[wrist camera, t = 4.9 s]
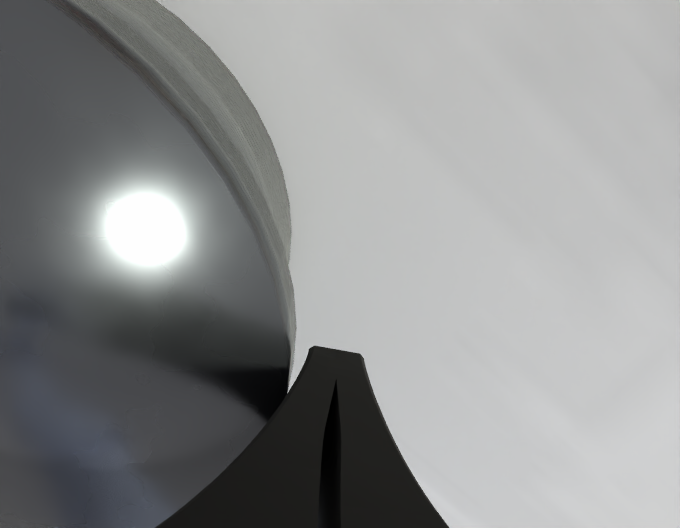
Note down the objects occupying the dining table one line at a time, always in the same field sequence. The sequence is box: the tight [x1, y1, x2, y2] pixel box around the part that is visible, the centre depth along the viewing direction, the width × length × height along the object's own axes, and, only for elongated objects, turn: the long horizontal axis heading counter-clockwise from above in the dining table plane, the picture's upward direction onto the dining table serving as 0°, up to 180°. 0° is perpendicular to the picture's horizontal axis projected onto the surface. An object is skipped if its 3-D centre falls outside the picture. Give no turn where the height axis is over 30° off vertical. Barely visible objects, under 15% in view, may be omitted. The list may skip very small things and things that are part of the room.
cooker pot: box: [96, 0, 291, 264], centre depth 15 cm, size 22×16×5 cm
